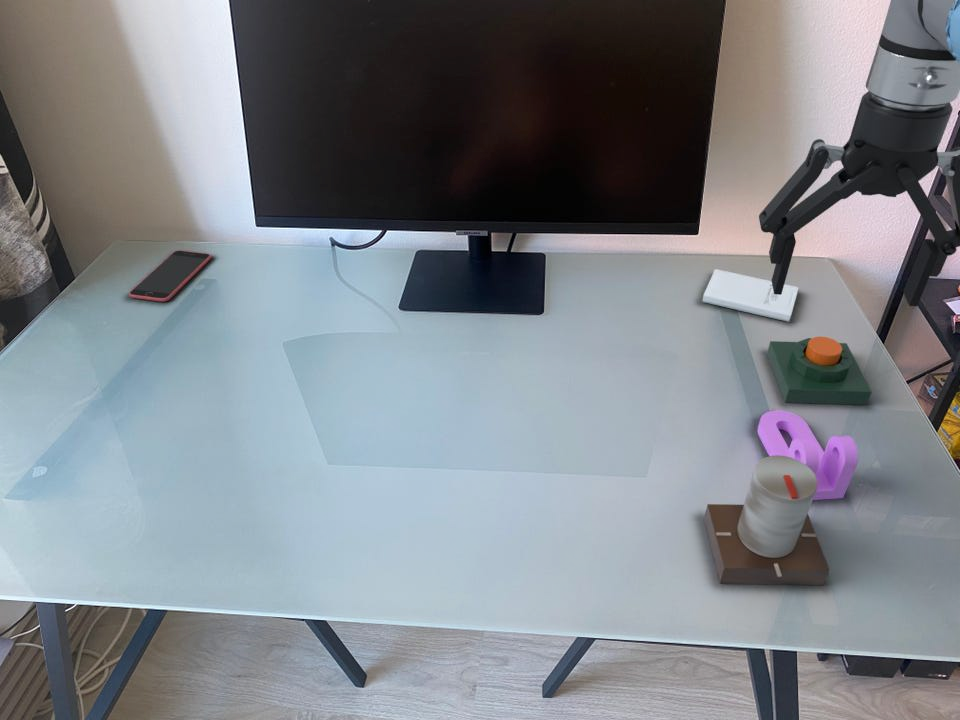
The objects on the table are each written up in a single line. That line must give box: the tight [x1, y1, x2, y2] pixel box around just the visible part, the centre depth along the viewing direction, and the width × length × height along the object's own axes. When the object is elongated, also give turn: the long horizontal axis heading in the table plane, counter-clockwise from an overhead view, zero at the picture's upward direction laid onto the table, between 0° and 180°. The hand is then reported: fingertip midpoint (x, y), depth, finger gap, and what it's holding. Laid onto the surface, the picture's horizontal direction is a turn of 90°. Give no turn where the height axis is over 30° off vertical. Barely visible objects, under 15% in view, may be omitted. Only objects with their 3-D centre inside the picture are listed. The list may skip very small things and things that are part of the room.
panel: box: [703, 503, 830, 586], centre depth 76 cm, size 10×10×3 cm
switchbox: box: [766, 337, 873, 406], centre depth 97 cm, size 10×10×4 cm
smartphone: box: [128, 250, 212, 303], centre depth 121 cm, size 7×1×14 cm
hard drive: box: [702, 268, 800, 323], centre depth 112 cm, size 2×8×12 cm
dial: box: [737, 455, 818, 558], centre depth 73 cm, size 6×6×9 cm
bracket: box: [756, 409, 859, 501], centre depth 85 cm, size 13×6×7 cm, turn 4°
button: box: [805, 336, 842, 366], centre depth 95 cm, size 4×4×2 cm
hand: (842, 293), depth 81 cm, fingers open, 13 cm apart
